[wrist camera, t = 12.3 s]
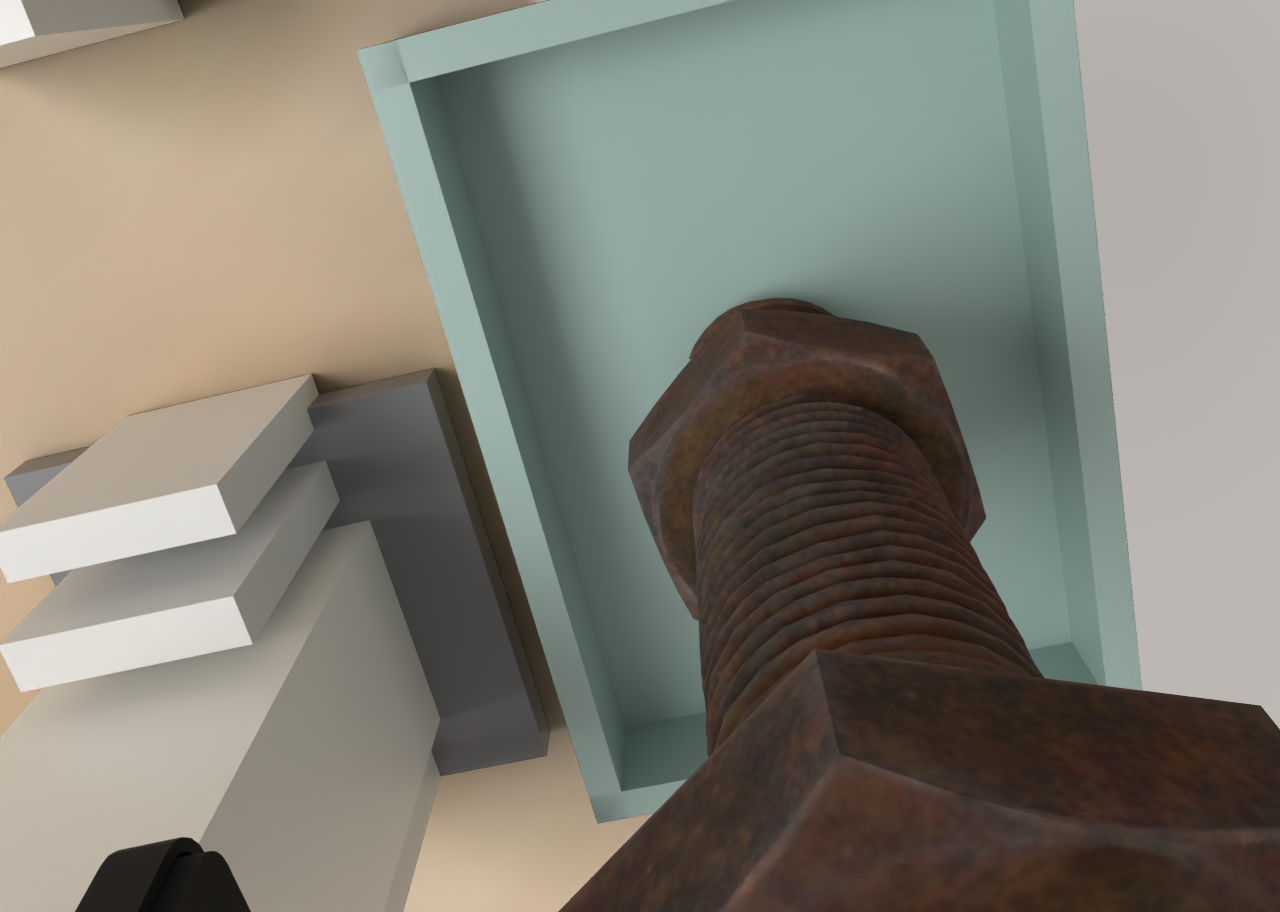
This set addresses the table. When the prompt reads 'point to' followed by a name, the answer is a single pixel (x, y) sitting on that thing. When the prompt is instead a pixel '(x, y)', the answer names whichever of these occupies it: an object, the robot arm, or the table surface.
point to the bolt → (898, 671)
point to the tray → (758, 294)
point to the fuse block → (250, 624)
